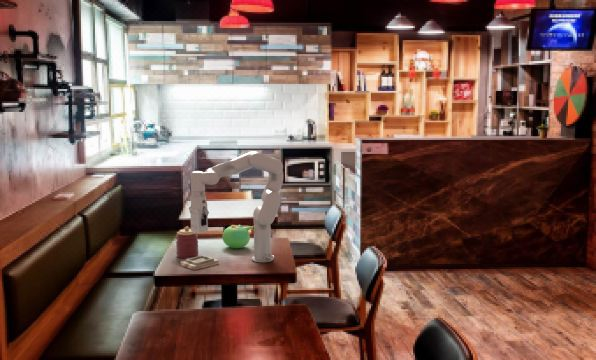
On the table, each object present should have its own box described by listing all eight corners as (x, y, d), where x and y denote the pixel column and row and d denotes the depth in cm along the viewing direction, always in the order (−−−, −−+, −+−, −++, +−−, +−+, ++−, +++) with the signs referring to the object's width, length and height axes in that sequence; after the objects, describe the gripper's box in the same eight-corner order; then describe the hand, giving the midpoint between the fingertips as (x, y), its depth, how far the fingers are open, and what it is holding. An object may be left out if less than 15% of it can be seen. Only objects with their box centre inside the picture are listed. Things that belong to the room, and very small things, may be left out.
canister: (174, 258, 374) (173, 229, 371) (178, 252, 387) (177, 224, 384) (197, 258, 374) (196, 229, 371) (199, 252, 387) (199, 224, 384)
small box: (208, 231, 359) (207, 208, 357) (198, 233, 355) (197, 210, 353) (200, 229, 365) (199, 206, 363) (190, 230, 361) (189, 208, 359)
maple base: (218, 263, 364) (218, 258, 364) (194, 270, 352) (194, 264, 352) (204, 259, 373) (204, 253, 373) (180, 265, 361) (180, 259, 361)
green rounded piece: (217, 247, 400) (217, 224, 397) (239, 242, 411) (238, 220, 409) (234, 252, 387) (234, 229, 384) (256, 248, 398) (256, 224, 396)
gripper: (213, 194, 353) (214, 225, 356) (194, 190, 365) (195, 220, 368) (202, 196, 348) (203, 227, 350) (183, 192, 360) (184, 222, 362)
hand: (198, 224), depth 359 cm, fingers closed on small box, 8 cm apart
